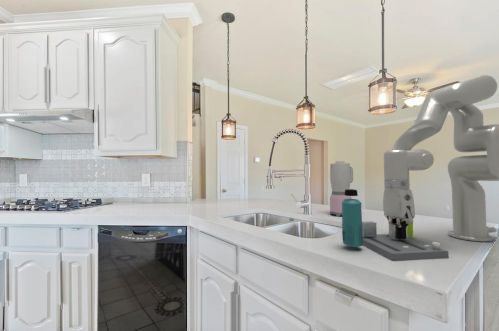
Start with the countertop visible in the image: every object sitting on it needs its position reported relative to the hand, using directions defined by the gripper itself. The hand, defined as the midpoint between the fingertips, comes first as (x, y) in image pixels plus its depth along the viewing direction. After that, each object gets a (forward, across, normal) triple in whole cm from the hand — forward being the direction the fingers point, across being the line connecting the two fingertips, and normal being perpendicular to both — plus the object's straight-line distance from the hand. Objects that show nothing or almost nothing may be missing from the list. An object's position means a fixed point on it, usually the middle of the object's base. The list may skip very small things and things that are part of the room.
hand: (398, 237), depth 82 cm
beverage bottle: (+3, -1, +18) cm, 18 cm away
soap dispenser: (+3, +10, -10) cm, 15 cm away
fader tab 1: (0, +4, +9) cm, 9 cm away
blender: (+3, +57, -10) cm, 58 cm away
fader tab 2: (0, 0, 0) cm, 0 cm away
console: (+3, -3, +3) cm, 5 cm away
